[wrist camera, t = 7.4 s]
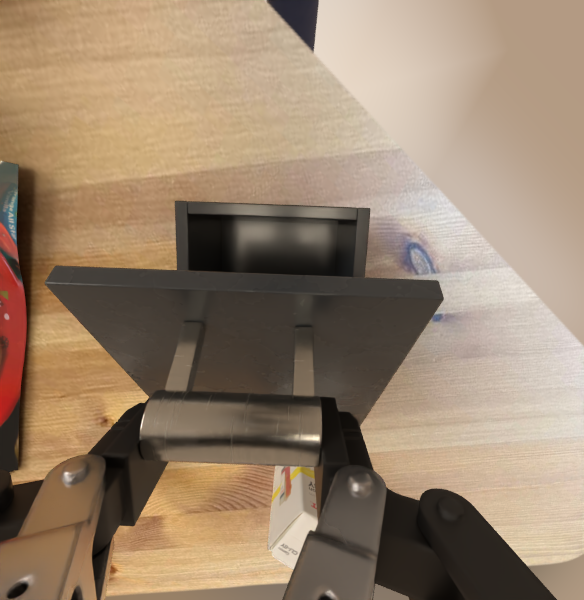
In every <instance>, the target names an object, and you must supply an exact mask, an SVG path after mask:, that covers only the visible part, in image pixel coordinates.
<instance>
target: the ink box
mask: <svg viewBox="0 0 584 600" xmlns="http://www.w3.org/2000/svg"><path fill="white" fill-rule="evenodd" d="M317 524H318V518H317V504H316V490H315V477H314V467H290V466H275V474H274V485H273V495H272V505H271V515H270V526H269V537H268V550H270V551H271V552H272V556H273V557H274V558H275V559H277V560H279V561H280V562H282V563H283V564H285V565H286V566H288V567H289V568H291V569H292V570H294V567H295V565H296V562H297V560H298V557H299V554H300V552H301V549H302V546H303V544H304V541H305V539H306V536H307V534H308V532H309V531H310V530H312V531H315V529H316V527H317Z"/></svg>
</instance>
